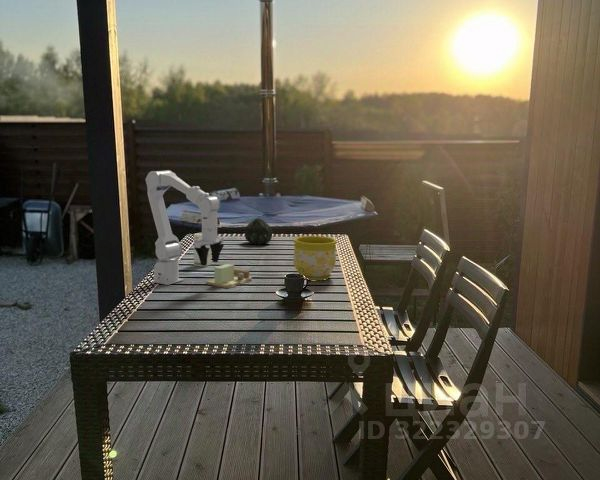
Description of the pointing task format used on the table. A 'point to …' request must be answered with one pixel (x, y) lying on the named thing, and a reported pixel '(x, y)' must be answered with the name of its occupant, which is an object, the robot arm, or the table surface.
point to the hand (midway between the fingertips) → (209, 263)
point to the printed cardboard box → (196, 258)
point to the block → (223, 273)
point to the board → (239, 279)
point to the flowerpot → (314, 256)
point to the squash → (258, 232)
